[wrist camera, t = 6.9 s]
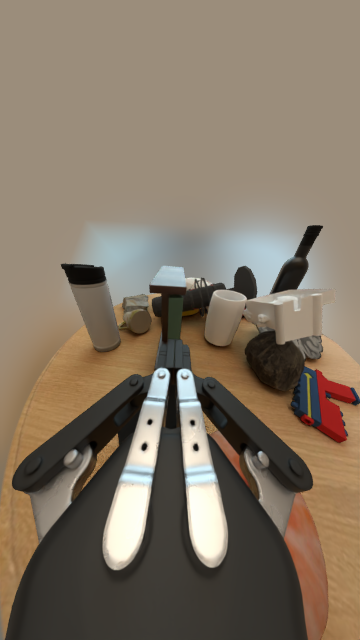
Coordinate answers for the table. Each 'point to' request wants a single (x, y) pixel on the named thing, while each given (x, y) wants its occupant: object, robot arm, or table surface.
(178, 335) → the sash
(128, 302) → the stone
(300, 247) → the wine bottle
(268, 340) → the rock
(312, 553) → the tomato
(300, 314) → the white plastic housing
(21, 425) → the table surface
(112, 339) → the travel mug
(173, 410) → the smartphone
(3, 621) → the table surface
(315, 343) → the brain slice
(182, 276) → the window frame
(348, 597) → the table surface
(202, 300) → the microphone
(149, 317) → the mug
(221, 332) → the cup
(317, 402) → the toy gun
